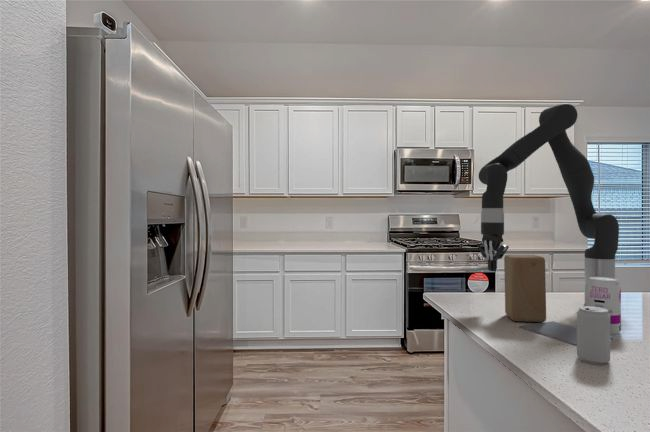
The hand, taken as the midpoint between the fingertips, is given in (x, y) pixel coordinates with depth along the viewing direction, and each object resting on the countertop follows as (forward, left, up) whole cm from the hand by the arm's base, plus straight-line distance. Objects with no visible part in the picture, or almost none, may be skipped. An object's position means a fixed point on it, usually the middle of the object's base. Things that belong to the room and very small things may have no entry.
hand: (492, 270), depth 142 cm
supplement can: (-10, +32, -14) cm, 36 cm away
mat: (+2, +29, -14) cm, 32 cm away
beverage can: (+15, +47, -14) cm, 51 cm away
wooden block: (0, +14, -14) cm, 20 cm away
